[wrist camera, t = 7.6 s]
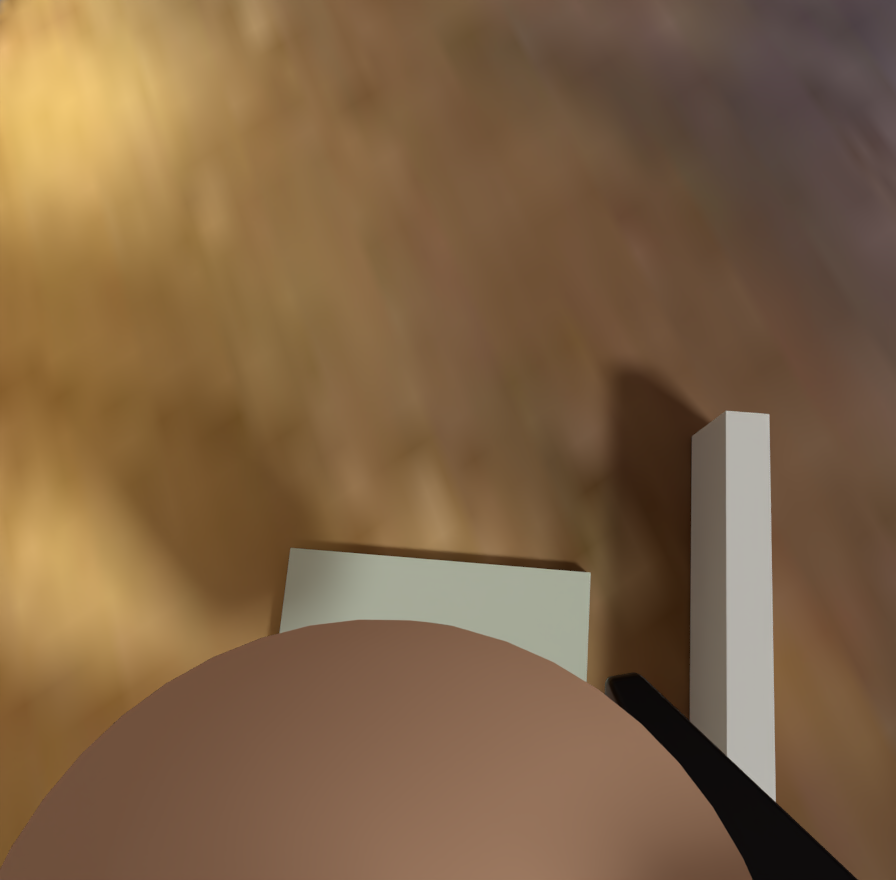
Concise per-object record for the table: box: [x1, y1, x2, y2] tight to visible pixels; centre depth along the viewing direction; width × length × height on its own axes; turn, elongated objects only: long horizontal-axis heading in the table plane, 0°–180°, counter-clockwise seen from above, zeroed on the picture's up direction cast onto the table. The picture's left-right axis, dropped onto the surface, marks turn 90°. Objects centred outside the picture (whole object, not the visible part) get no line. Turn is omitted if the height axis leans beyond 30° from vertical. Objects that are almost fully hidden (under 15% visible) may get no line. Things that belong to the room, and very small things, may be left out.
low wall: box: [690, 411, 776, 802], centre depth 21 cm, size 14×1×3 cm, turn 175°
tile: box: [280, 548, 591, 682], centre depth 22 cm, size 9×9×1 cm
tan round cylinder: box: [0, 620, 752, 880], centre depth 10 cm, size 6×6×11 cm
